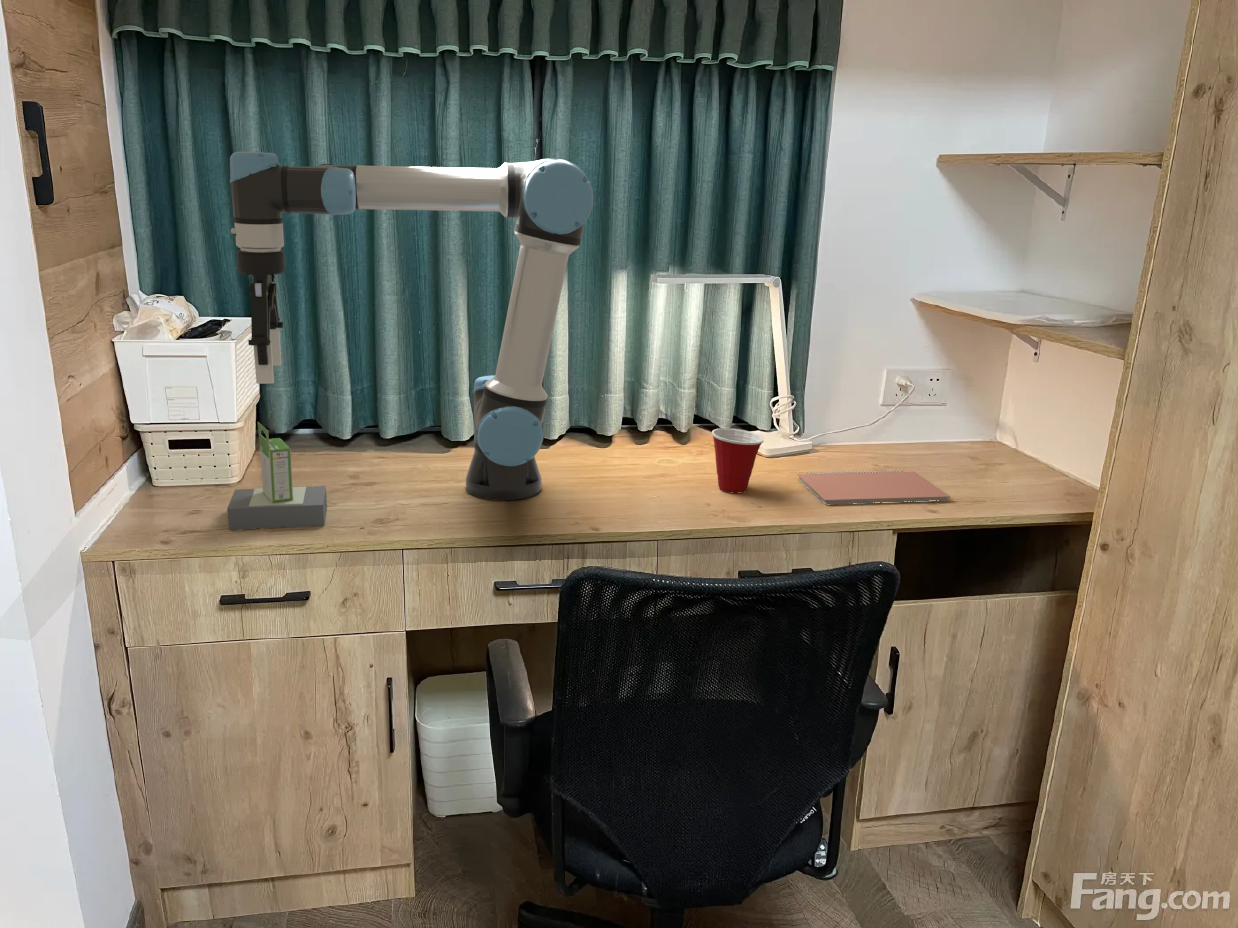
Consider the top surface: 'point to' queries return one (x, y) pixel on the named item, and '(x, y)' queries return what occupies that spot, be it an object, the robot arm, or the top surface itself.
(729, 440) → the plastic cup
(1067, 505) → the top surface
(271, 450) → the ink box
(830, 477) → the notebook
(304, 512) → the plinth
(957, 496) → the top surface
